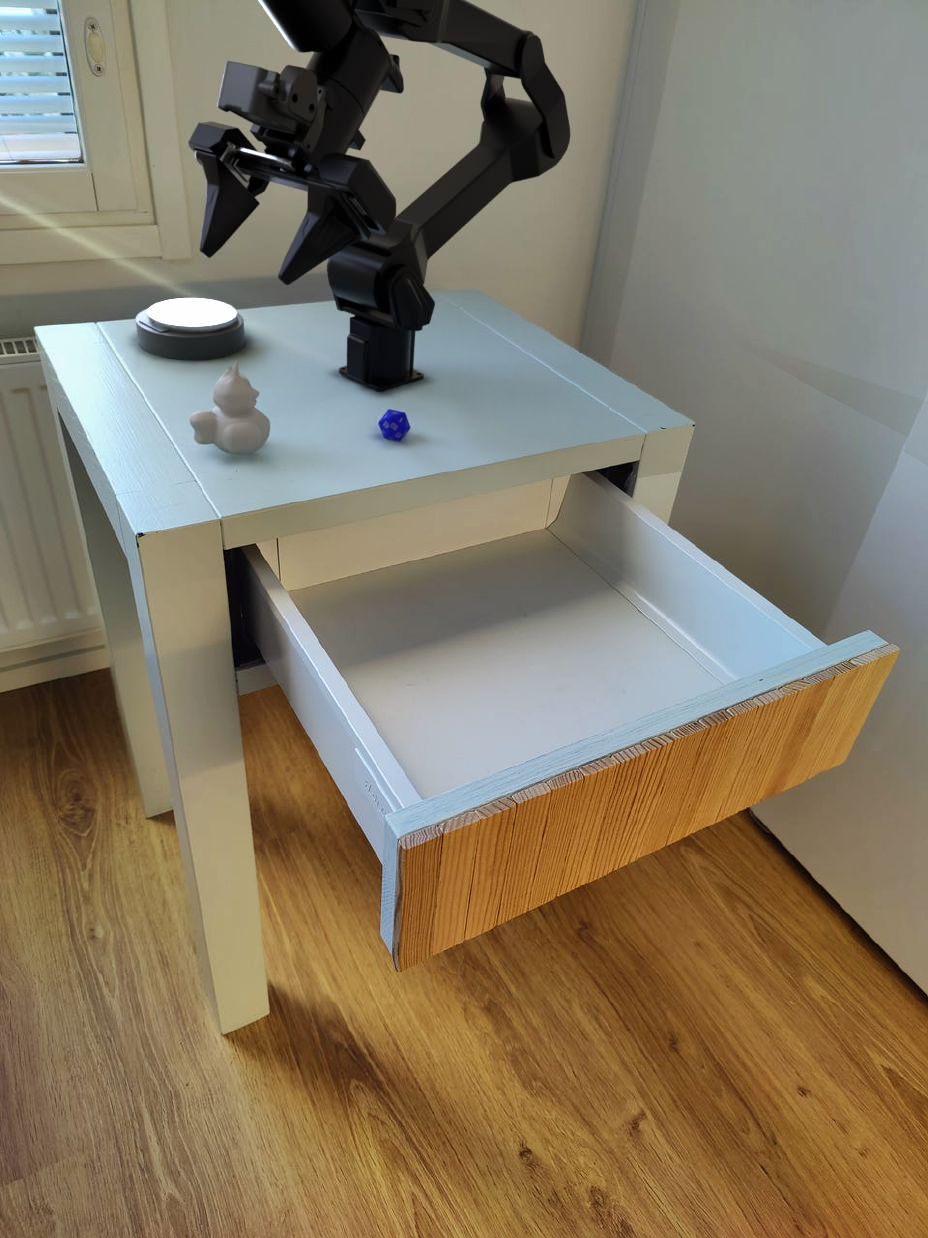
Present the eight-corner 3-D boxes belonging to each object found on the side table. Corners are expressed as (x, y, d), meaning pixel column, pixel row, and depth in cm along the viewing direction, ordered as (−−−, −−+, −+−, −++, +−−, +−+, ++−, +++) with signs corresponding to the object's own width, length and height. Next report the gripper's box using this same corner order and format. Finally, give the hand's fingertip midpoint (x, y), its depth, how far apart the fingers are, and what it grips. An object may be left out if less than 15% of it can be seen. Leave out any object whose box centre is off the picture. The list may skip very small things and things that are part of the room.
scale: (206, 317, 100) (204, 290, 98) (265, 346, 94) (264, 317, 92) (118, 335, 93) (113, 306, 91) (176, 367, 87) (173, 337, 85)
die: (383, 430, 80) (404, 406, 79) (400, 449, 79) (421, 425, 78) (367, 425, 78) (388, 399, 77) (384, 444, 77) (405, 419, 76)
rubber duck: (280, 460, 73) (276, 368, 69) (202, 471, 71) (193, 377, 66) (260, 433, 77) (255, 344, 72) (185, 443, 74) (174, 352, 69)
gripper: (190, 1, 67) (95, 178, 67) (372, 30, 59) (264, 231, 59) (273, 108, 77) (191, 262, 77) (438, 146, 69) (346, 318, 69)
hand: (242, 267), depth 70 cm, fingers open, 9 cm apart
